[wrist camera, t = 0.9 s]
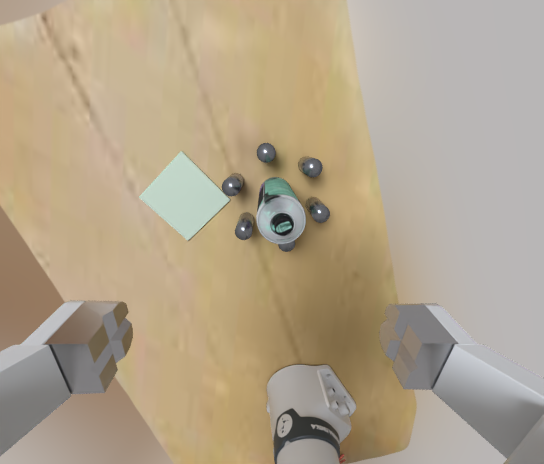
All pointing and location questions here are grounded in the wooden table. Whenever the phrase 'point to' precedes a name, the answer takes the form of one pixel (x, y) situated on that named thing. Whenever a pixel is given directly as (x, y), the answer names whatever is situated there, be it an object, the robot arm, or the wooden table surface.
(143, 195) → the mat
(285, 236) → the spray can
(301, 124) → the wooden table surface
